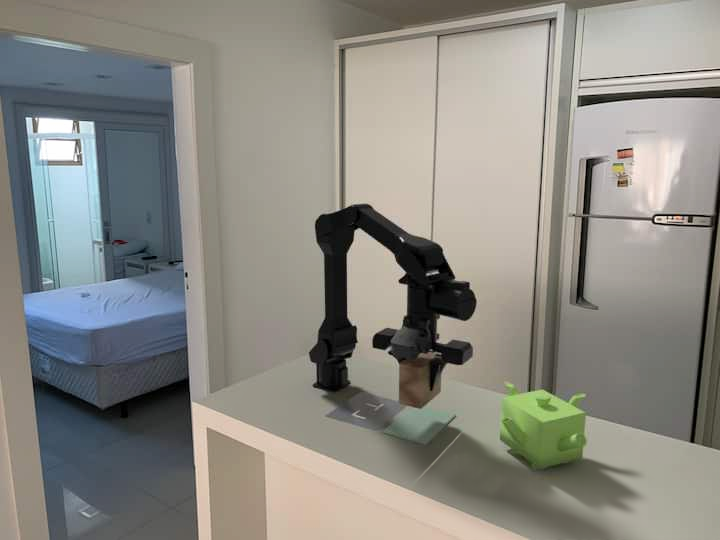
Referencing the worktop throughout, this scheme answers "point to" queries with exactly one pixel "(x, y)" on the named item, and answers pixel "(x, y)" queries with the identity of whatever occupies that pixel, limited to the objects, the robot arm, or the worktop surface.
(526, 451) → the green knobbed block
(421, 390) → the walnut block
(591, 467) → the worktop surface
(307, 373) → the worktop surface
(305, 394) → the worktop surface
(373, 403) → the plate
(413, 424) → the green mat
